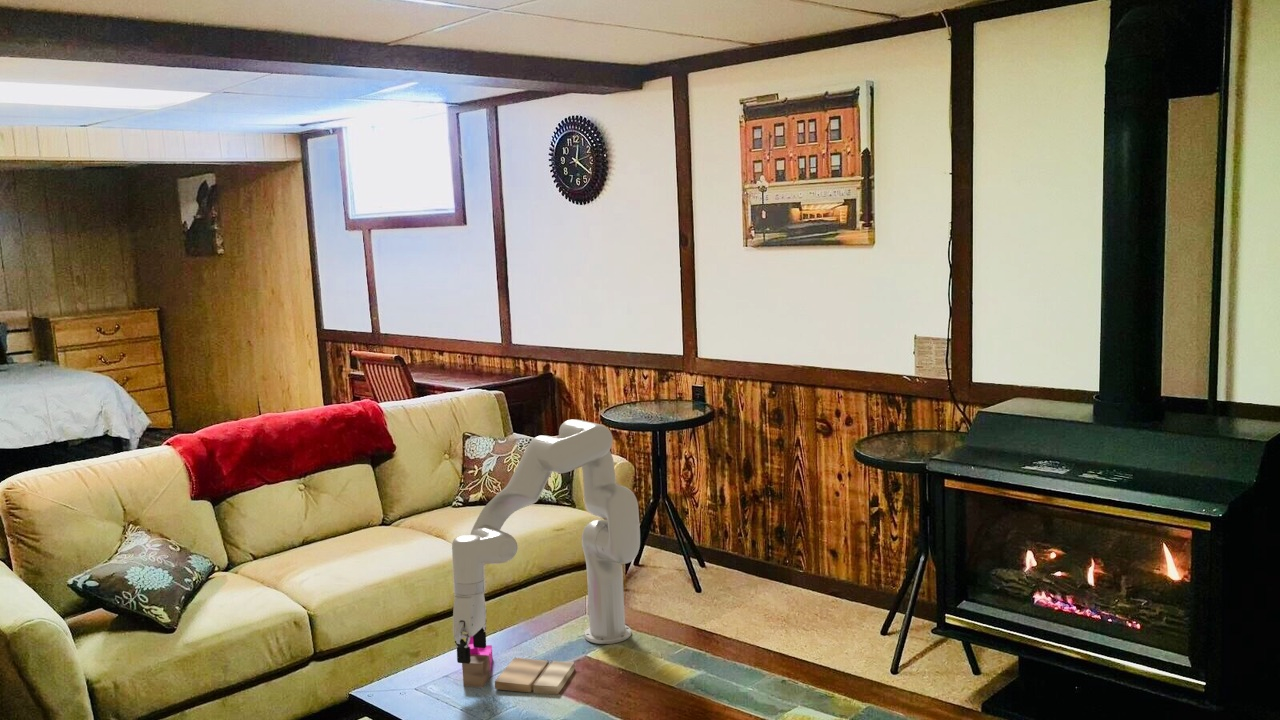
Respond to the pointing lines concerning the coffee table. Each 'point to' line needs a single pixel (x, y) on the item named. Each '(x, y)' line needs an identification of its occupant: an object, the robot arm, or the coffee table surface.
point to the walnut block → (476, 671)
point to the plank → (521, 675)
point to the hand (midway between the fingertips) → (472, 654)
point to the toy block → (481, 650)
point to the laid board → (553, 677)
